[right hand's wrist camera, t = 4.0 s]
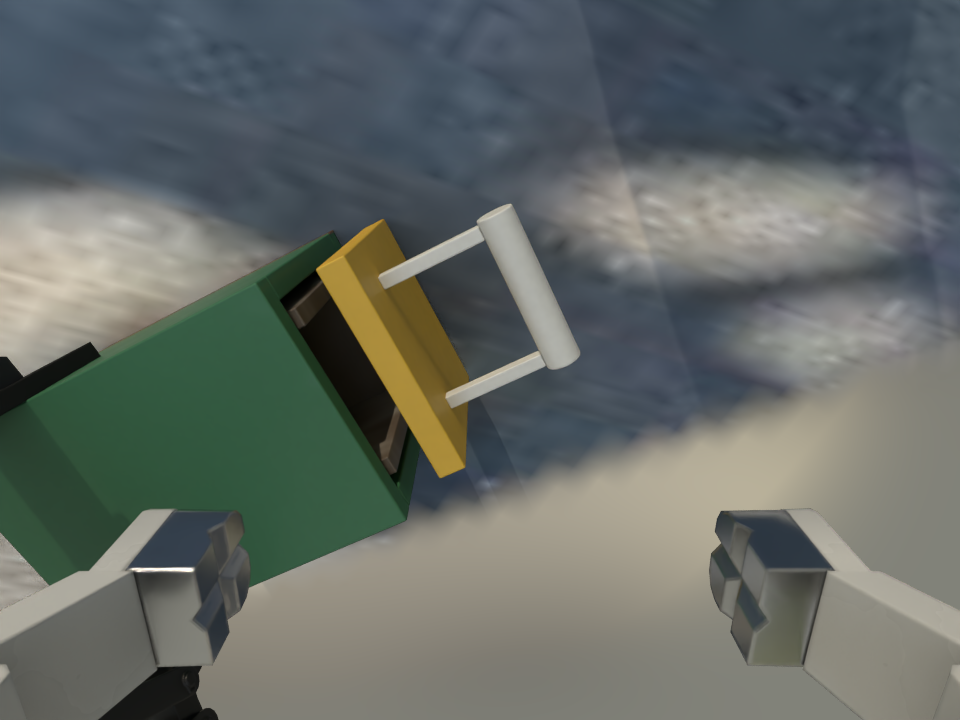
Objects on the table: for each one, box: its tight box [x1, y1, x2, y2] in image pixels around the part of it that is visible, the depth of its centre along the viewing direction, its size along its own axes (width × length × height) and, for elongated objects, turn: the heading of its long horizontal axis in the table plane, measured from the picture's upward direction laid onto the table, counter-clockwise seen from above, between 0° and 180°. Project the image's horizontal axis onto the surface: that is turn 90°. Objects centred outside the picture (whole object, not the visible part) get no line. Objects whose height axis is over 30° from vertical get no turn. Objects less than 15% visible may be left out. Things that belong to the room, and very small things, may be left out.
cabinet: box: [0, 230, 420, 587], centre depth 29 cm, size 15×11×12 cm
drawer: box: [280, 204, 580, 478], centre depth 28 cm, size 20×10×10 cm, turn 116°
